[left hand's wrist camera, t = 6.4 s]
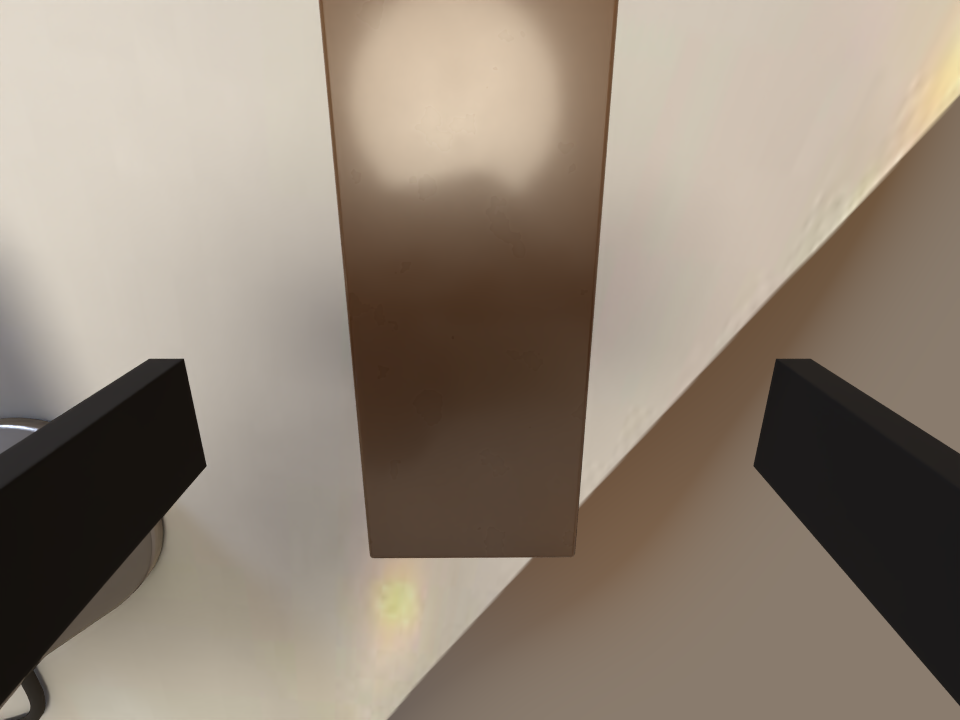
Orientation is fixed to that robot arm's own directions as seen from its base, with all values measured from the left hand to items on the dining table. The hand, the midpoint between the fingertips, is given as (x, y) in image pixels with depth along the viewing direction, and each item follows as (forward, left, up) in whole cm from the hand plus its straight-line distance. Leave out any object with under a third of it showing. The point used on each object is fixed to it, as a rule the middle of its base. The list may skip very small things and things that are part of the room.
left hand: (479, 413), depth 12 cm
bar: (+11, +7, -9) cm, 16 cm away
